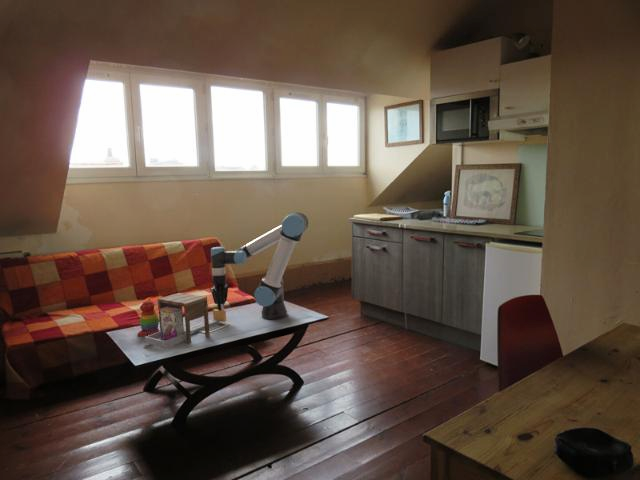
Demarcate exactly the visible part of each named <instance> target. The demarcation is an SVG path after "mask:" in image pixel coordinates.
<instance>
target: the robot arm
mask: <svg viewBox="0 0 640 480" xmlns="http://www.w3.org/2000/svg"><path fill="white" fill-rule="evenodd" d="M308 228H309V219H308V217H307V215H306V214H304V213H302V212H294V213H290V214H288V215H286V216H285V217H284V219H283V220H282V222H281V224H280V225H278V226H276V227H275V228H273V229H271V230H269V231H268V232H265V233H264V234H262V235H261V236H259V237H257V238H255V239H253V240H252V241H250V242H248V243H246V244H244V245H242V246H241V247H239V248H237V249H234V250H225V247H223V246H216V247H215V246H214V247H212V248H210V262H211V276H212V278H211V279H212V282H213V283H212V284H213V285H212V287H211V288H210V289H209V291H210V293H211V295H212V300H213V302H214V304H215V305H217V309H218V310H224V311H225V304H226V302H227V300H228V293H229V287H230V284H227V282H226V281H227V275H226V273H227V272H226V265H244V264H246V262H247V260H248V259H250V258H251V257H253V256H254V255H256V254H258V253H260V252H262V251H263V250H265V249H267V248H270V247H271V246H273V245H274V244H276V243H278V245H277V247H276V249H275V251H274V254H273V257H272V259H271V262H270V264H269V266H268V269H267V273H266V275H265V276H263V277H261V280H260V282H259V284H258V287H257V288H256V289H255V291H254V294H253V295H254V296H253V297H254V298H253V299H254V300H255V303H257V305H259V306H261V307H262V309H261V318H263V319H264V320H280V319H283V318H286V317H287V316H288V310H287V307H286V305H285V299H284V281H283V280H284V279H283V276H284V273H285V271H286V268H287V265H288V264H289V261H290V258H291V256H292V254H293V251H294V249H295V246H296V244H297V243H299V242H300V240H301V239H302V237H303V233H304V232H305V231H306V230H307V229H308Z"/></svg>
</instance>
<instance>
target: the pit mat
mask: <svg viewBox="0 0 640 480" xmlns="http://www.w3.org/2000/svg"><path fill="white" fill-rule="evenodd" d="M210 321H211V320H210V319H209V322H210ZM202 324H205V323H204V322H202V323H198V324H196V325H194V326H190V329H192V328H194V327H197V326H200V325H202ZM230 325H231V324H230V323H226V322H218V323H215V324H213V325H210V326H209V334H211V333H214V332H217V331H219V330H221V329H223V328H225V327H229V326H230ZM195 333H201V334H205V328H203V329H200V330H197V331H195Z"/></svg>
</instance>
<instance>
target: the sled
mask: <svg viewBox="0 0 640 480" xmlns="http://www.w3.org/2000/svg"><path fill="white" fill-rule="evenodd" d="M212 316H213V320H210V322H209V326H210V325H213V324H215V323H218V322H221V323H226V322H227V312H226V310H225V309H224V310H218V308H217V309H216V308H215V309H212ZM203 328H205V324H202V325H200V326H197V327H194V328H192V329H190V333H191V334H192V333H194V332H195V333H196V331H197V330H200V329H203ZM183 331H184V334H182V335H180V336H177V337H174V338H172V339H169V340H163V338H162V331H160V330H159V332H157V333H154V334H151V335H149V336H144V343H145V344H147V345H152V346H155V347H159V348H163V349H167V348H170V347H172V346H175V345H177V344H180V343H182V342H184V341H187V340H186V330H183Z"/></svg>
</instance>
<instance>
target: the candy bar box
mask: <svg viewBox="0 0 640 480" xmlns="http://www.w3.org/2000/svg"><path fill="white" fill-rule="evenodd" d="M182 312H183V308H182V309H177V308H171V307H165V308H161V309H160V314H161V325H162V338H161V339H162V340H163V341H166V340H169V339H172V338H174V337H177V336H180V335H182V334H184V331H185V330H183V326H184V317H183V318H182Z"/></svg>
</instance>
